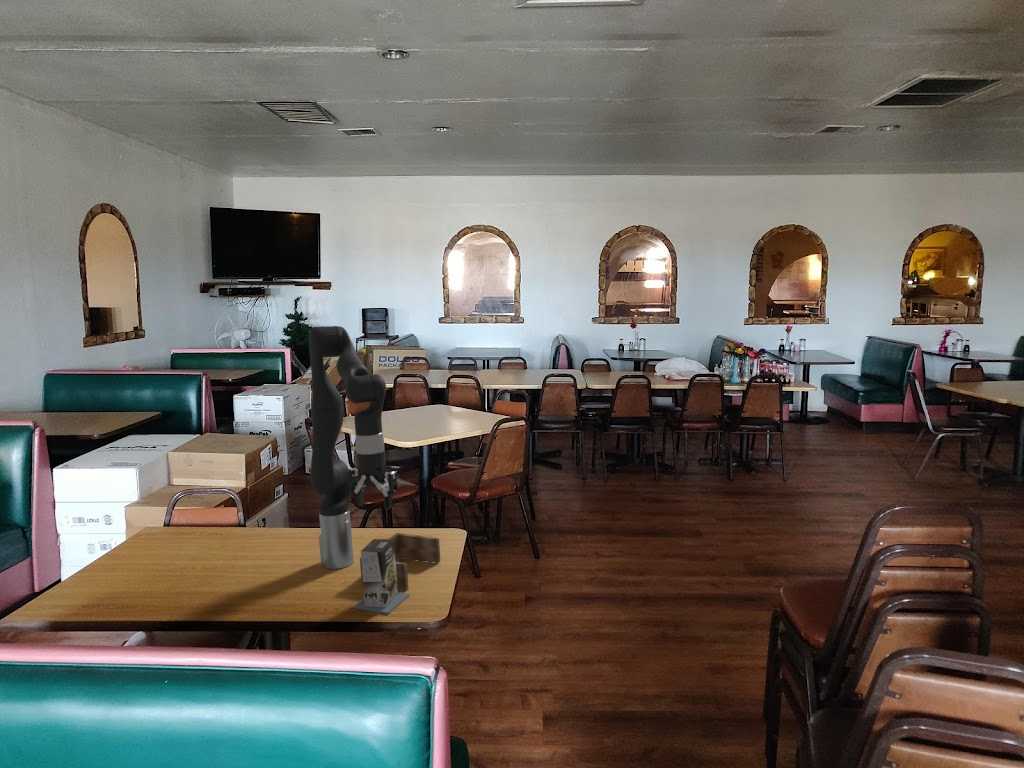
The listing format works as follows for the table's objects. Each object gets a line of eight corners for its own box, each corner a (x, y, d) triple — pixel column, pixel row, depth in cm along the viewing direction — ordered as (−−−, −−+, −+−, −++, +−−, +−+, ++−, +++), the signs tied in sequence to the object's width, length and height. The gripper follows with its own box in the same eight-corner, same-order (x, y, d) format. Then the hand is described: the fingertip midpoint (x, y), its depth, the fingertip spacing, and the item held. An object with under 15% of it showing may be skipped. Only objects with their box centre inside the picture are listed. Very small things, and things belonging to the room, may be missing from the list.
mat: (354, 608, 189) (353, 606, 189) (376, 590, 199) (376, 588, 199) (388, 614, 185) (388, 612, 185) (409, 596, 195) (409, 594, 195)
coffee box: (386, 608, 187) (381, 552, 184) (364, 606, 188) (359, 550, 186) (398, 592, 196) (394, 538, 193) (377, 591, 197) (373, 537, 194)
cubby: (361, 583, 204) (359, 558, 202) (398, 556, 222) (397, 532, 221) (406, 591, 198) (404, 564, 196) (440, 562, 216) (439, 538, 215)
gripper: (339, 451, 184) (344, 509, 187) (385, 454, 178) (389, 514, 181) (356, 444, 191) (360, 500, 193) (400, 447, 185) (404, 505, 188)
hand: (374, 507), depth 187 cm, fingers open, 8 cm apart
